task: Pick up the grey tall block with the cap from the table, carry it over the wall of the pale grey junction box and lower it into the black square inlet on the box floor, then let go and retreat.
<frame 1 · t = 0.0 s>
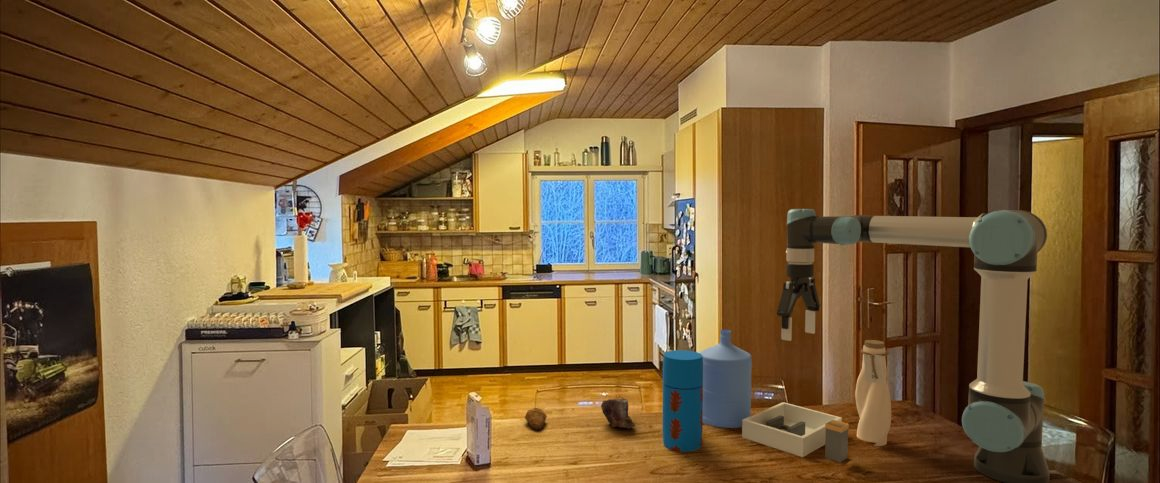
hand: (798, 336, 175), 28 cm above the table, fingers open, 13 cm apart
water jug: (724, 422, 185), on the table
water bottle: (872, 442, 169), on the table
inlet: (785, 434, 172), resting on junction box
grey tall block: (836, 461, 157), on the table
junction box: (791, 439, 171), on the table
thermos: (682, 444, 168), on the table
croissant: (535, 424, 184), on the table
rock: (617, 425, 183), on the table
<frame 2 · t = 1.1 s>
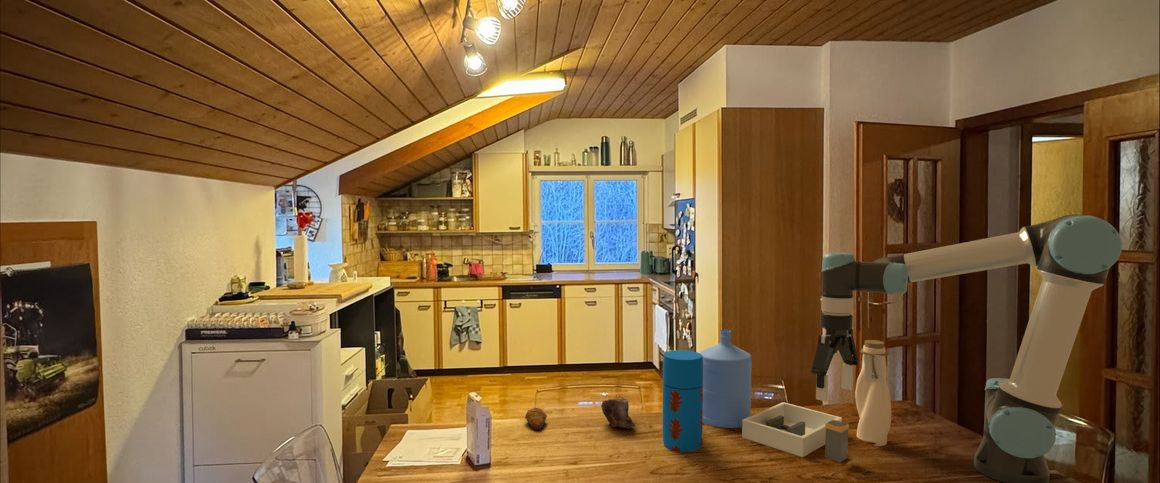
hand: (834, 394, 157), 17 cm above the table, fingers open, 13 cm apart
nothing on the table moved.
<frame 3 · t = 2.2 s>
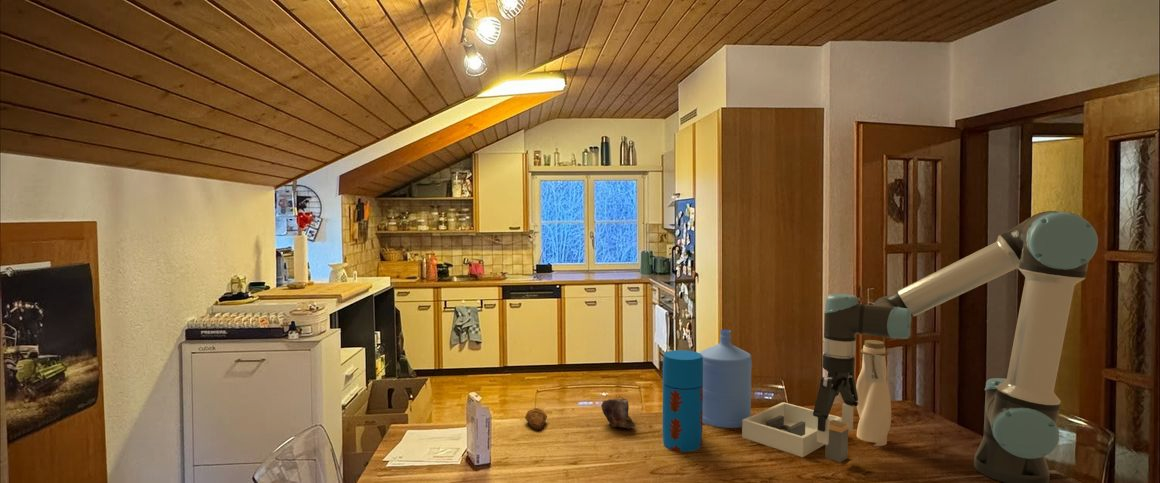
hand: (835, 436, 156), 7 cm above the table, fingers open, 13 cm apart
nothing on the table moved.
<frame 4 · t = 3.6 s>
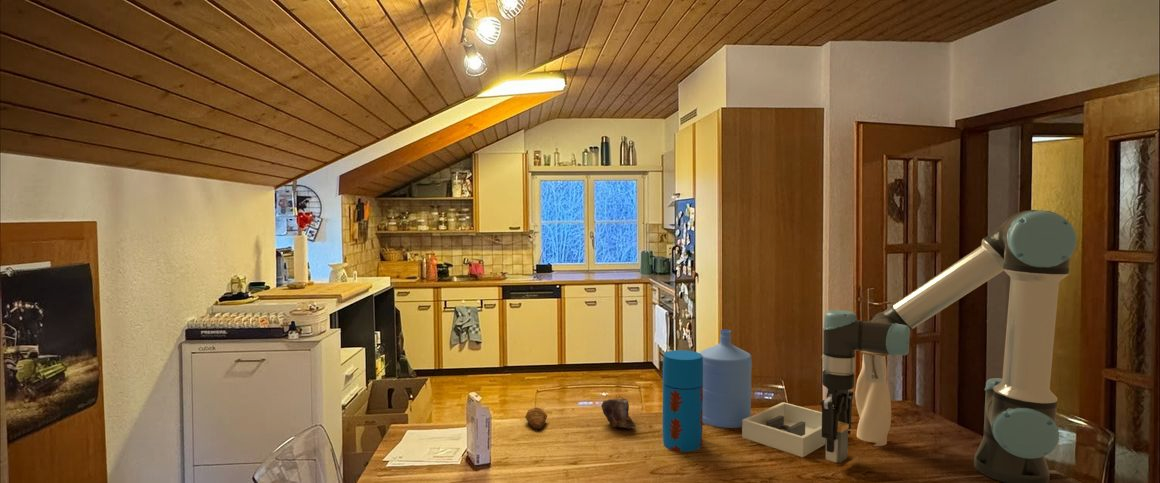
hand: (835, 460, 157), 0 cm above the table, fingers closed on grey tall block, 4 cm apart
grey tall block: (836, 461, 157), on the table, touching gripper
everything else where it was.
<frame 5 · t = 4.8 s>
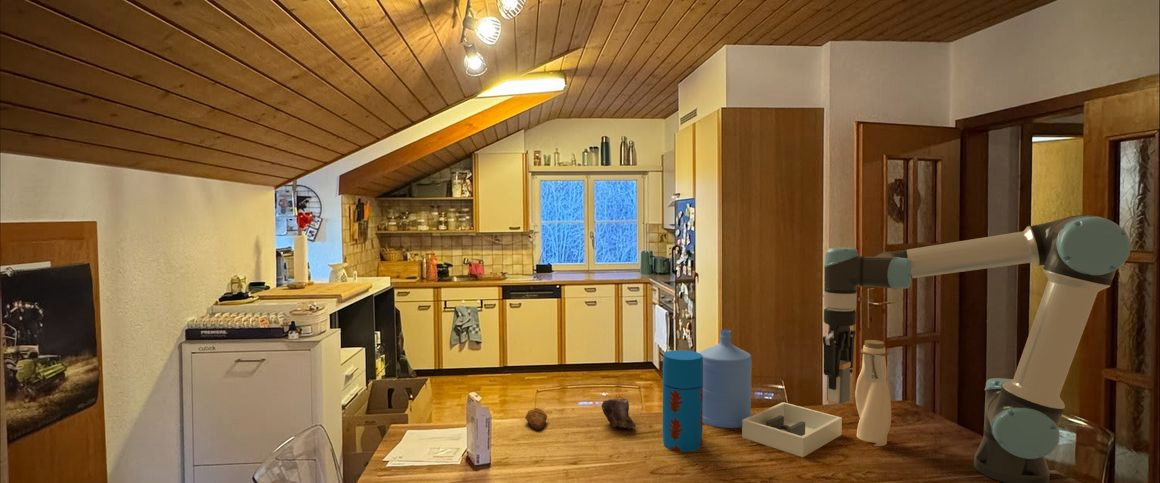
hand: (837, 398, 155), 16 cm above the table, fingers closed on grey tall block, 4 cm apart
grey tall block: (838, 400, 155), point 16 cm above the table, touching gripper
everything else where it was.
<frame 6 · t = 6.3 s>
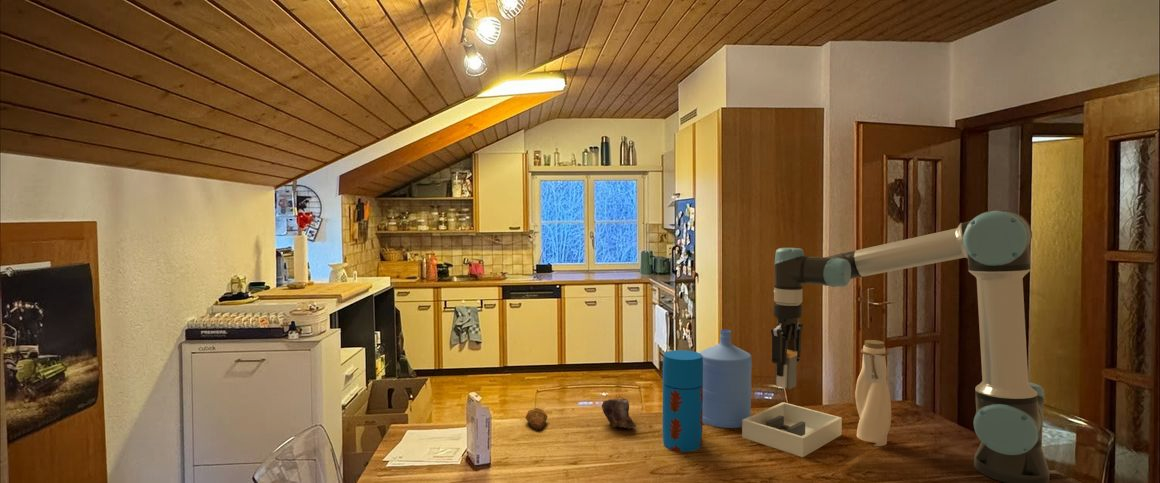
hand: (785, 385, 172), 15 cm above the table, fingers closed on grey tall block, 4 cm apart
grey tall block: (785, 386, 172), point 15 cm above the table, touching gripper
everything else where it was.
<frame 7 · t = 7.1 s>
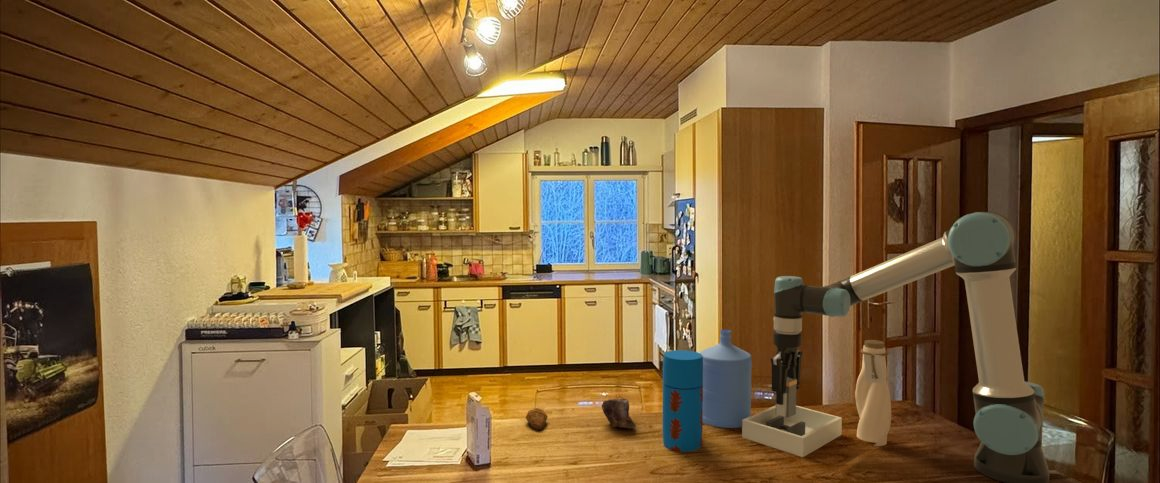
hand: (785, 412, 172), 7 cm above the table, fingers closed on grey tall block, 4 cm apart
grey tall block: (785, 414, 172), point 7 cm above the table, touching gripper
everything else where it was.
when the fingers open (3 cm above the table, at t = 8.3 s): grey tall block drops 1 cm, resting on junction box.
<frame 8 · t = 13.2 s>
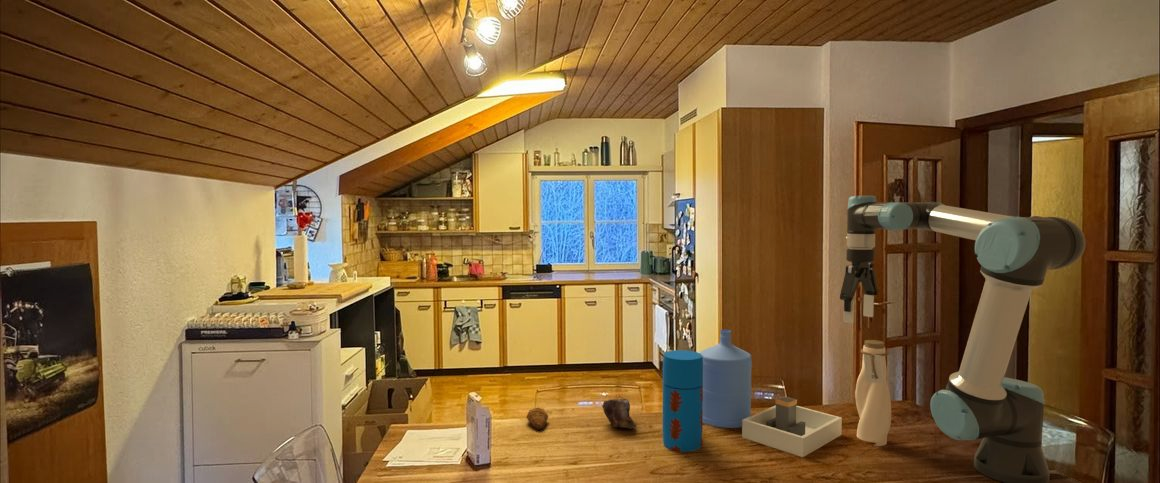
hand: (858, 319, 180), 32 cm above the table, fingers open, 13 cm apart
grey tall block: (785, 434, 172), point 1 cm above the table, touching junction box
everything else where it was.
at the end: grey tall block 0.1 cm off-centre on the inlet, point 0.0 cm above the inlet's base; grey tall block tilted 0°; the gripper is holding nothing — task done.
